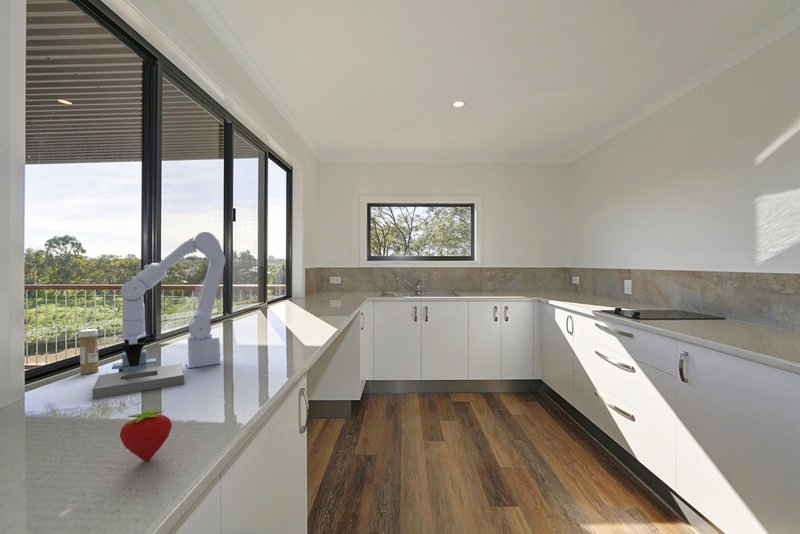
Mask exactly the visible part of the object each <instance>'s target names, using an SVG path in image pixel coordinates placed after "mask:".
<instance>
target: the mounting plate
mask: <svg viewBox="0 0 800 534" xmlns="http://www.w3.org/2000/svg"><path fill="white" fill-rule="evenodd" d="M184 384H185V374H184V371H183V366H182V363H175V364H169V365H163V366H154V367H147V369H139V370H132V371H125V372H119V371H118V372H111V373H105V374H99V375H98V377H97V379H96V381H95V383H94V385H93V388H92V399H93V398H96V399H100V398H99V397H102V398H107V397H106V396H108V397H113V396H112V395H114V396H119V395H118V394H120V395H125V394H132V393H137V392H143V391H150V390H155V389H162V388H168V387H172V386H173V387H174V386H178V385H179V386H181V385H184Z"/></svg>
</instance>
